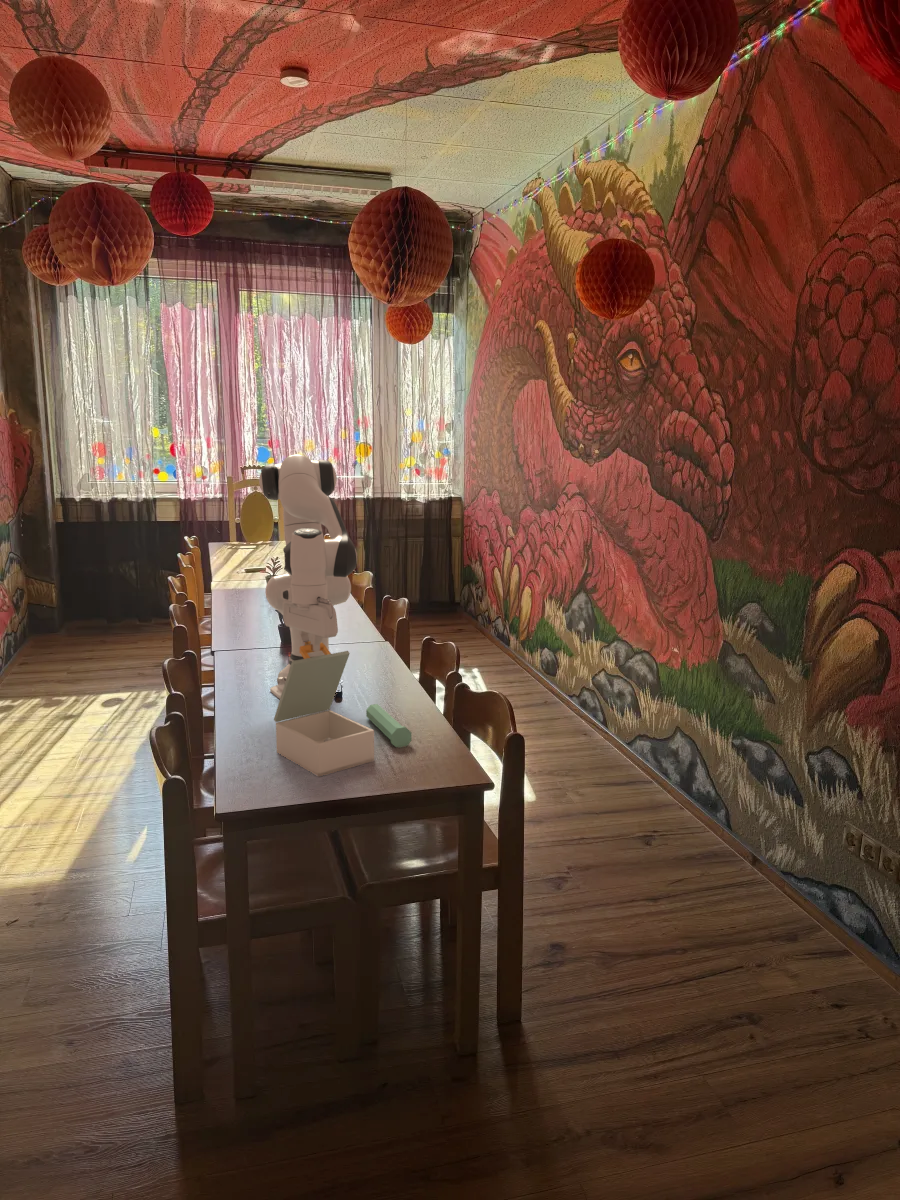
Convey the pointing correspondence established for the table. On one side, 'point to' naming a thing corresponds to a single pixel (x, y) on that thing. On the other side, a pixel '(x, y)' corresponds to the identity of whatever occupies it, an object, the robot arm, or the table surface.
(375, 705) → the green octagonal rod
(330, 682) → the lid
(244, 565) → the table surface
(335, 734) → the parts tub
